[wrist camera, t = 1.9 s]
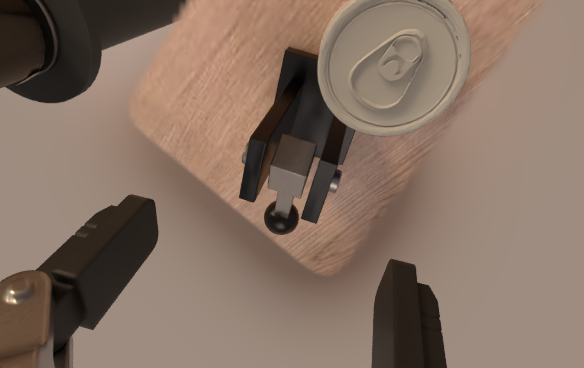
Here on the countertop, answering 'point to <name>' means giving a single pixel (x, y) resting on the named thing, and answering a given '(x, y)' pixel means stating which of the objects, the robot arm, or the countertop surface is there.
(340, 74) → the beverage can
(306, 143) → the lever
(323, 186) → the bracket
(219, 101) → the countertop surface
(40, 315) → the robot arm
